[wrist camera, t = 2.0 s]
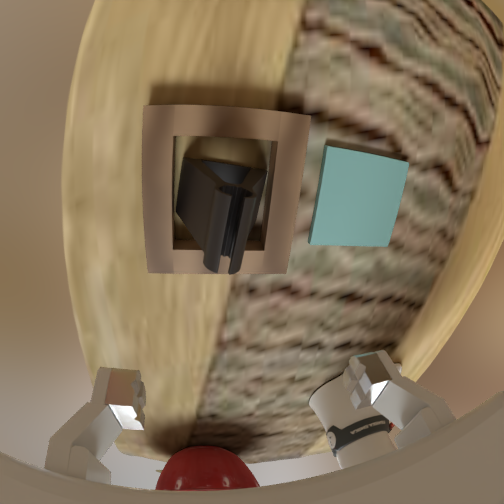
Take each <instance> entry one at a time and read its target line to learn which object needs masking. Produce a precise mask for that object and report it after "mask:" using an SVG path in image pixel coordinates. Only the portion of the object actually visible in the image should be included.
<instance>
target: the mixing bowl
mask: <svg viewBox="0 0 504 504" xmlns="http://www.w3.org/2000/svg"><path fill="white" fill-rule="evenodd" d="M254 487H260V486H259V484H258V482H257V480H256V479H255V477H254V475H253V474H252V472H251V471H250V470H249V468H248V467H247V466H246V465H245V463H244V462H243V461H242V460H241V459H240V458H239V457H238V456H237V455H235V454H234V453H232V452H230V451H228V450H225V449H223V448H220V447H216V446H193V447H188V448H185V449H183V450H181V451H179V452H177V453H175V454H174V455H173V456H172V457H171V458H170V459H169V460H168V462H167V464H166V465H165V467H164V469H163V470H162V472H161V475H160V477H159V479H158V482H157V485H156V489H155V490H165V491H218V490H234V489H245V488H254Z"/></svg>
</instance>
